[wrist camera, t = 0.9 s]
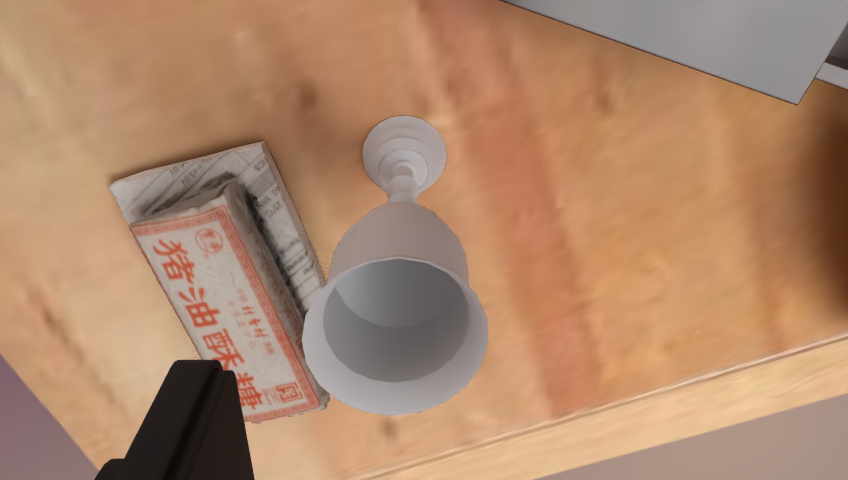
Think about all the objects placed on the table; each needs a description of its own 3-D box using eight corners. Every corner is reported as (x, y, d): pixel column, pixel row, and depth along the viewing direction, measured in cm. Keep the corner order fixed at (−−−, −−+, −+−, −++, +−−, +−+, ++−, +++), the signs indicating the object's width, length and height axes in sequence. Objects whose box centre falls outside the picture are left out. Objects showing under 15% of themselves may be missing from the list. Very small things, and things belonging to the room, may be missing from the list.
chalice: (369, 80, 39) (334, 231, 23) (480, 119, 40) (520, 289, 24) (332, 190, 42) (279, 389, 26) (436, 224, 43) (445, 434, 27)
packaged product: (358, 413, 44) (216, 444, 46) (363, 365, 48) (233, 394, 50) (249, 166, 36) (78, 212, 37) (267, 133, 40) (114, 176, 41)
